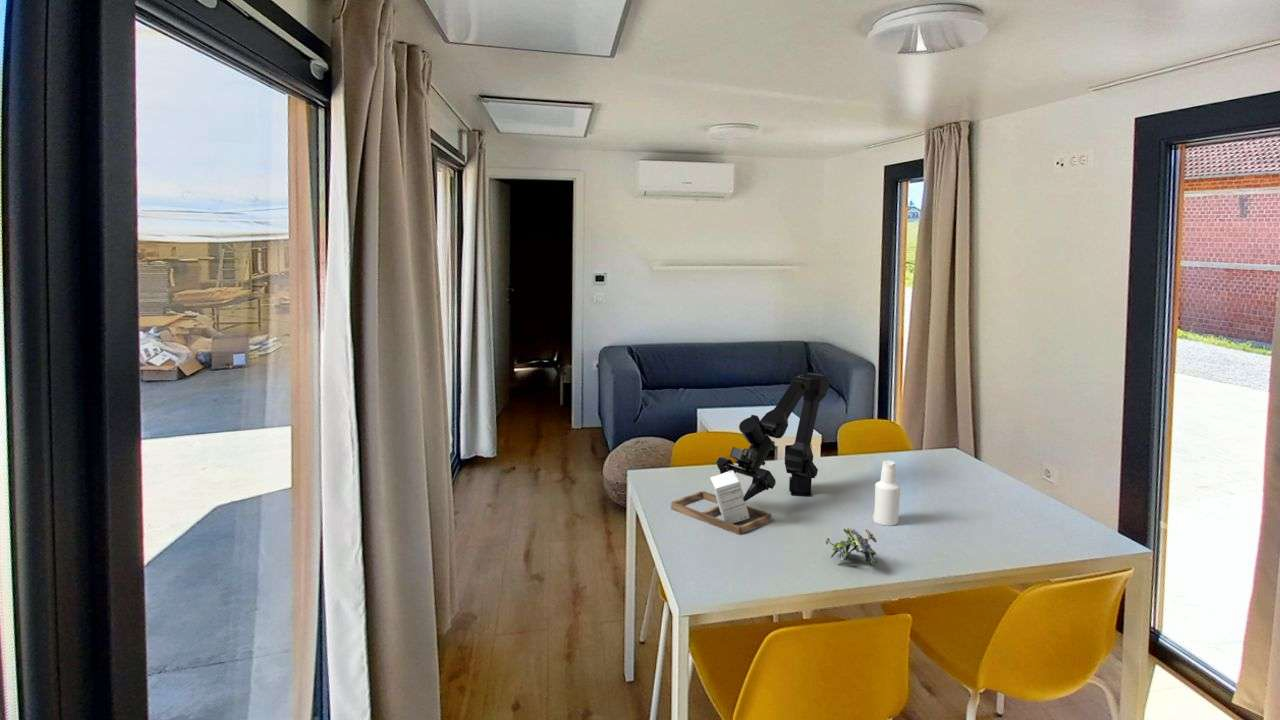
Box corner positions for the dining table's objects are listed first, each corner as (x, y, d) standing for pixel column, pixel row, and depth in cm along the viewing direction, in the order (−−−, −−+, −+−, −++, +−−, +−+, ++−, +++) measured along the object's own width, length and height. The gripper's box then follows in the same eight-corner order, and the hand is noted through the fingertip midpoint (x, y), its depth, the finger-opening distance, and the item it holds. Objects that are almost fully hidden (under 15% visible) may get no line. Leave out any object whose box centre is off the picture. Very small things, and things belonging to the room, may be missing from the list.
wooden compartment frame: (702, 496, 219) (702, 490, 219) (772, 520, 200) (772, 514, 200) (669, 508, 209) (669, 502, 209) (740, 535, 190) (740, 528, 189)
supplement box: (720, 513, 203) (709, 476, 199) (743, 505, 203) (733, 469, 200) (725, 526, 196) (714, 488, 192) (750, 518, 196) (739, 480, 193)
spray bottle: (897, 518, 202) (901, 460, 199) (898, 527, 195) (902, 466, 193) (873, 515, 204) (876, 457, 201) (872, 524, 198) (876, 464, 195)
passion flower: (866, 584, 174) (891, 559, 166) (828, 581, 171) (851, 555, 163) (853, 545, 182) (875, 519, 174) (816, 541, 179) (838, 515, 171)
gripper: (721, 430, 206) (694, 472, 200) (772, 443, 192) (745, 489, 186) (736, 452, 212) (711, 493, 206) (786, 466, 199) (761, 510, 193)
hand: (731, 496), depth 198 cm, fingers closed on supplement box, 9 cm apart
